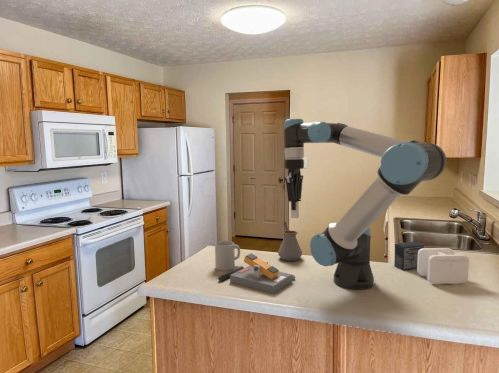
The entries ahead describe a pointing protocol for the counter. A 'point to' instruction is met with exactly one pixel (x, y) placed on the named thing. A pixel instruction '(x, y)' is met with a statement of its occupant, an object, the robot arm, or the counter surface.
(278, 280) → the panel
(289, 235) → the coffee pot
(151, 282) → the counter surface
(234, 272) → the black rounded bar
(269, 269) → the lever
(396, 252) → the small box
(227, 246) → the mug
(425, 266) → the cable organizer
